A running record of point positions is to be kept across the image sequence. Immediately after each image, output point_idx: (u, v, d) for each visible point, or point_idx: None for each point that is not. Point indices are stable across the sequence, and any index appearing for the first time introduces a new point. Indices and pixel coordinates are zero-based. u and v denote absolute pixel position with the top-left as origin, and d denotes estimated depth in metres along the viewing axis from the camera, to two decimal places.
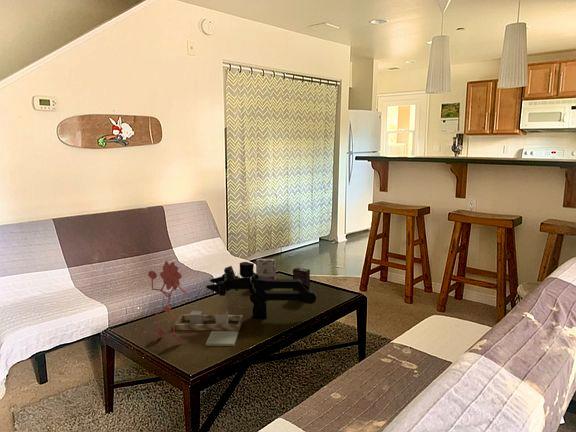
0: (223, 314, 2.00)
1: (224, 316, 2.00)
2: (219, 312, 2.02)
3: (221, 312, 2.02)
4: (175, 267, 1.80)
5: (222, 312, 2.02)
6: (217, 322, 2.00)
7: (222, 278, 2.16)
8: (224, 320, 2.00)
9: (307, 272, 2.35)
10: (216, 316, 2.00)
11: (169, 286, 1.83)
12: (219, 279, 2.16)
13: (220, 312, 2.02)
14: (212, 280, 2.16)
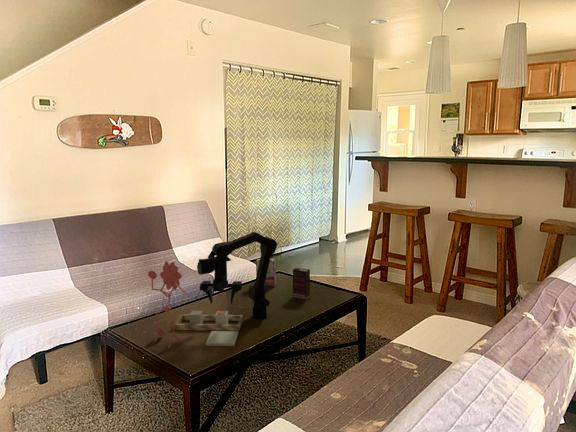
0: (223, 314, 2.00)
1: (224, 316, 2.00)
2: (219, 312, 2.02)
3: (221, 312, 2.03)
4: (175, 267, 1.80)
5: (222, 312, 2.02)
6: (217, 322, 2.00)
7: (210, 291, 2.00)
8: (224, 320, 2.00)
9: (307, 272, 2.35)
10: (216, 316, 2.00)
11: (169, 286, 1.83)
12: (210, 294, 2.00)
13: (220, 312, 2.02)
14: (212, 301, 2.01)
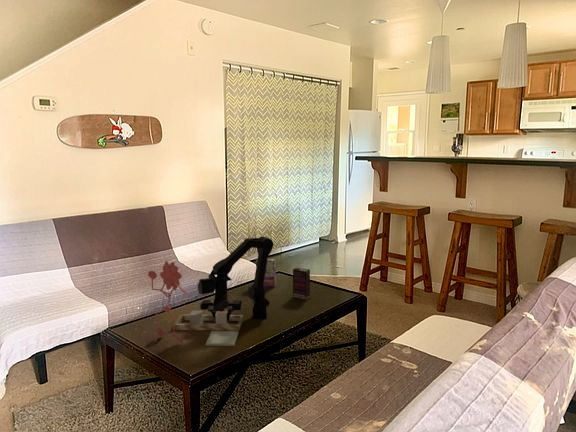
0: (223, 314, 2.00)
1: (224, 316, 2.00)
2: (219, 312, 2.02)
3: (221, 312, 2.02)
4: (175, 267, 1.80)
5: (222, 312, 2.02)
6: (217, 322, 2.00)
7: (214, 310, 2.01)
8: (224, 320, 2.00)
9: (307, 272, 2.35)
10: (216, 316, 2.00)
11: (169, 286, 1.83)
12: (215, 313, 2.02)
13: (220, 312, 2.02)
14: None
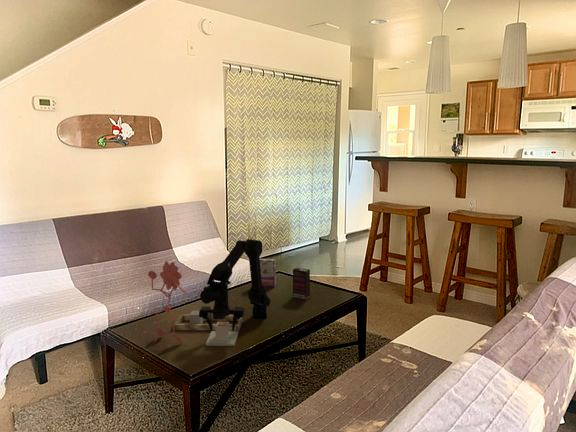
0: (224, 325, 1.85)
1: (225, 327, 1.85)
2: (219, 323, 1.87)
3: (221, 323, 1.87)
4: (175, 267, 1.80)
5: (222, 323, 1.87)
6: (217, 334, 1.85)
7: (209, 318, 1.86)
8: (225, 332, 1.85)
9: (307, 272, 2.35)
10: (216, 327, 1.85)
11: (169, 286, 1.83)
12: (210, 320, 1.87)
13: (220, 323, 1.87)
14: (212, 328, 1.88)
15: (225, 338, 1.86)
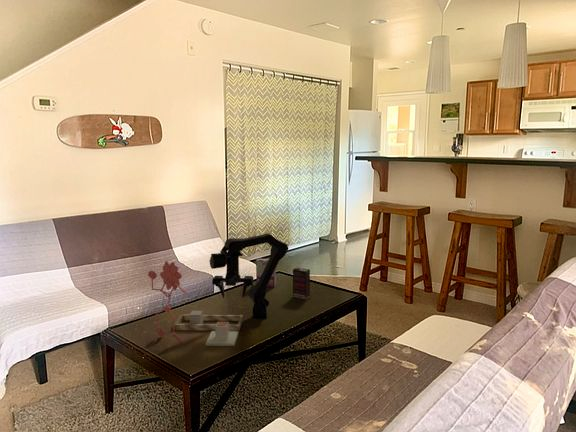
0: (224, 325, 1.85)
1: (225, 327, 1.85)
2: (219, 323, 1.87)
3: (221, 323, 1.87)
4: (175, 267, 1.80)
5: (222, 323, 1.87)
6: (217, 334, 1.85)
7: (222, 285, 2.03)
8: (225, 332, 1.85)
9: (307, 272, 2.35)
10: (216, 327, 1.85)
11: (169, 286, 1.83)
12: (222, 288, 2.04)
13: (220, 323, 1.87)
14: None
15: (225, 338, 1.86)
